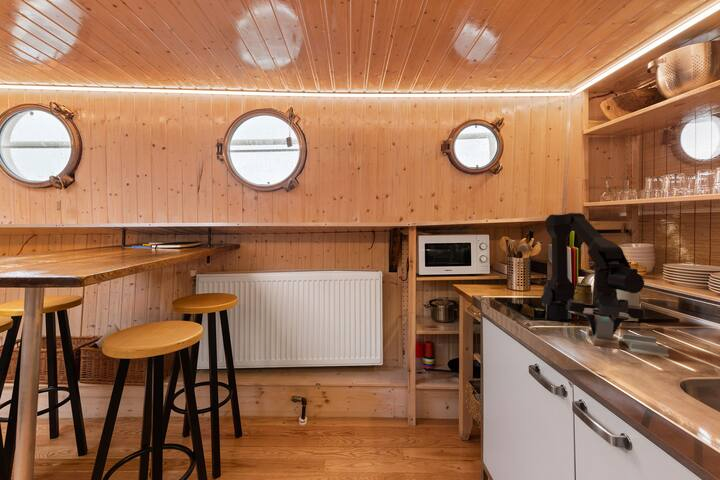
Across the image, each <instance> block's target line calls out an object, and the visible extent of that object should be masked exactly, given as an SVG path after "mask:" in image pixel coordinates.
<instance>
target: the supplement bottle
mask: <svg viewBox="0 0 720 480" xmlns="http://www.w3.org/2000/svg"><path fill="white" fill-rule="evenodd" d="M550 279H551V278H546V281H545V283H546V284H544V285H543V287H542V295H543V294H544V293H545V292H546V290H547V284H548V282H549V281H550ZM541 302H542V301H541ZM541 305H542V306H543V307H545V308H546V304H545V303H543V302H542V303H541Z"/></svg>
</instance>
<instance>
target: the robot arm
mask: <svg viewBox="0 0 720 480" xmlns="http://www.w3.org/2000/svg"><path fill="white" fill-rule="evenodd" d="M545 227H546V232H547V234H548V236H549V237H550V239H551V278H549V279H550V281H549V282H548V284H547V283H546V284H547V290H546V292H545V293H544V294H543V293H542V295H541V296H540V299H541V302H543V303H545V304H546V307H545V316H544V317H545V320H546V321H548V322H557V323H565V324H566V323H567V321H568V319H569V318H568V317H569V315H568V314H569V311H571V312H580V313H582V314H583V315H585V316H586V317H585V316H584V317H585V318H587V320H588V323H589V327H590V329H591V330H592V333H593V335H594V336H595V320H594V318H595V315H596V314H595V315H594V311H595V312H598V315H600V316H611V318H610V319H611V320H612V321H613V322H614V326H613V336H614V335H615V334H616V331H618V330H617V329H618V327H619V326H620V325H621V324H622V322H625V321H624V320H628V318H627V316H628V315H629V316H630V317H631V318H635V319H638V320H645V319H646V312H645V310H644V309H643V308H641V307H640V305H639V306H634V305H628V300H623V299H620V300H618V298H617V289H618V290H622V291H625V292H629V293H638V292H640V293H641V291H642V290H643V288H644V286H645V280H644V278H643V276H642V275H641V273H640V274H638V273H639V272H638V268H635V267H634V268H632V266H631V265H630V262H629V261H628V259H627V257H626V255H625V253H624V250H623V248H621V247H620V246H619V245H618V244H616V243H615V242H614V241H611V240H609V239H607V238H605V237H604V236H603V235H602V234H601V233H600V232H599V231H598V230H597V229H596V228H595V227H594V226H593V224H591V222H589V220H588V219H587V218H586V215H585V214H583V213H582V212H568V213H563V214H552V213H551V214H550V215H548V216H547V218H546V219H545ZM572 231H574V233H576V234H577V236H578V237H579V238H580V239H581V240H582V242H583V243H584V244H585V245H586V246H587V254H588V256H589V257H590V259H591V260H592V262H593V263H594V264H592V265H590V266H589V270H592V271H593V270H594V271H593V274H594V276H593V288H592V290H593V291H592V304H584V303H583V301H582V300H574V294H575V288H576V284H575V282H571V280H570V279H569V277H568V276H569V273H568V272H569V271H568V270H569V269H568V262H569V261H568V238H569V236H570V235H571V233H572ZM571 312H570V313H571Z"/></svg>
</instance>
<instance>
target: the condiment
mask: <svg viewBox="0 0 720 480" xmlns="http://www.w3.org/2000/svg"><path fill="white" fill-rule="evenodd" d="M592 290H593V285H591V284H589V283H584V282H583V283H582V282H581V283H579V282H578V283H576V284H575V289H574V291H575V294H574V298H573V300H582V301H583V303H584V304H593V291H592ZM568 313H572V314H575V315H577V316H578V315H579V316H582V317H585V318H587V317H586V316H585V315H583V314H582V313H580V312H571V311H569V310H568ZM593 314H594V313H593ZM594 315H595V316H600V314H594Z"/></svg>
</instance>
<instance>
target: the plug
mask: <svg viewBox="0 0 720 480" xmlns="http://www.w3.org/2000/svg"><path fill="white" fill-rule="evenodd" d="M594 320H595V336H594V335H593V338H598V339H605V340H612V341H614V340H613V339H614V338H613V337H614V335H613V326H614V322H613V321H612V320H611V318H610V316H604V315H599V316H595V318H594Z"/></svg>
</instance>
